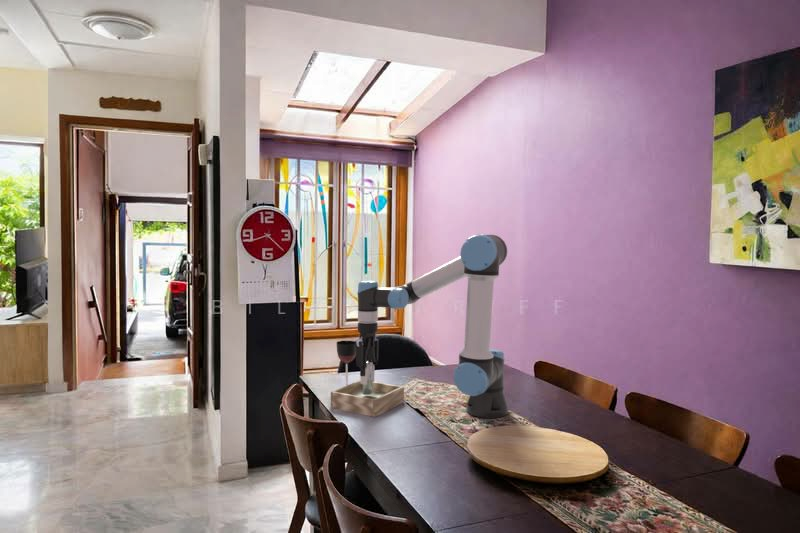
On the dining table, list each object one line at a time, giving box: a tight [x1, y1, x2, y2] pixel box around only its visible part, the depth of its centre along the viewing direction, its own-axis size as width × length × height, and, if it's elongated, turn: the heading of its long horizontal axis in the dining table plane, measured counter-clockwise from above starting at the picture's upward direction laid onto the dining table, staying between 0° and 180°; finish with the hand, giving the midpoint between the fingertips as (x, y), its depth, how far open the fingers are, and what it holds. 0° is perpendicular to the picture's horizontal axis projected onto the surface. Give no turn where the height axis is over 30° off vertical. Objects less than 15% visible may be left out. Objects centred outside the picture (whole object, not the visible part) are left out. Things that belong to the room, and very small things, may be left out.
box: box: [330, 380, 405, 418], centre depth 201 cm, size 20×20×6 cm
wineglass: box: [336, 340, 356, 386], centre depth 221 cm, size 8×9×20 cm
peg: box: [362, 360, 373, 395], centre depth 201 cm, size 4×4×12 cm
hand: (367, 382), depth 201 cm, fingers closed on peg, 4 cm apart
